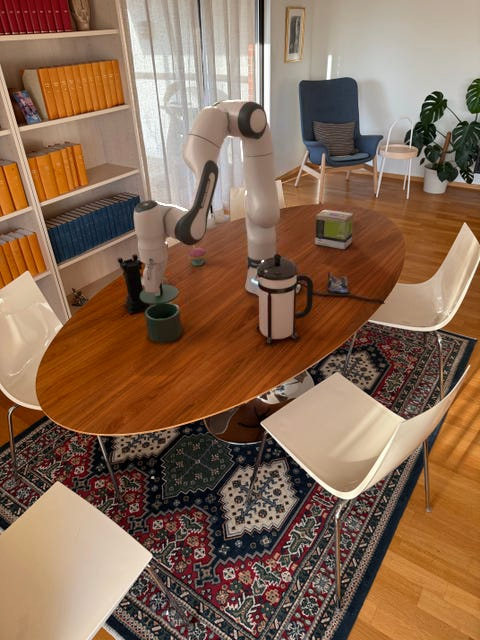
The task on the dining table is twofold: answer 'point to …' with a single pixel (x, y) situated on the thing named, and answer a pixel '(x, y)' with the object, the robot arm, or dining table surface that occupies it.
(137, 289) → the chess piece
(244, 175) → the robot arm
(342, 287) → the snack package
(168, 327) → the green hollow cylinder
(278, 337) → the coffee press
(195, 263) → the cupcake
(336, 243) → the tea box
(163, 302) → the lid
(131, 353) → the dining table surface
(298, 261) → the dining table surface
